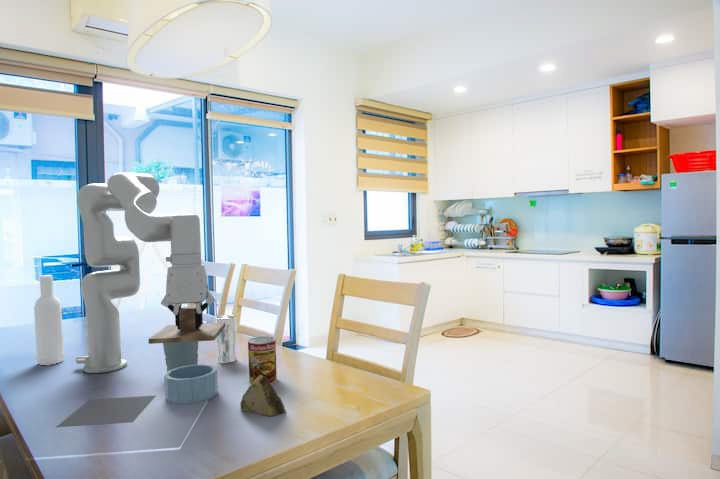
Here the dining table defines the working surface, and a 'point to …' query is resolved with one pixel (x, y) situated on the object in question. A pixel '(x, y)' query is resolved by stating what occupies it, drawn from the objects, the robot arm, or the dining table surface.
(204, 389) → the bowl
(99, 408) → the board
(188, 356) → the drinking glass
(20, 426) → the dining table surface
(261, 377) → the rock
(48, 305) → the bottle
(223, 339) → the beer glass
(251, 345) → the canned food
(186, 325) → the lid
